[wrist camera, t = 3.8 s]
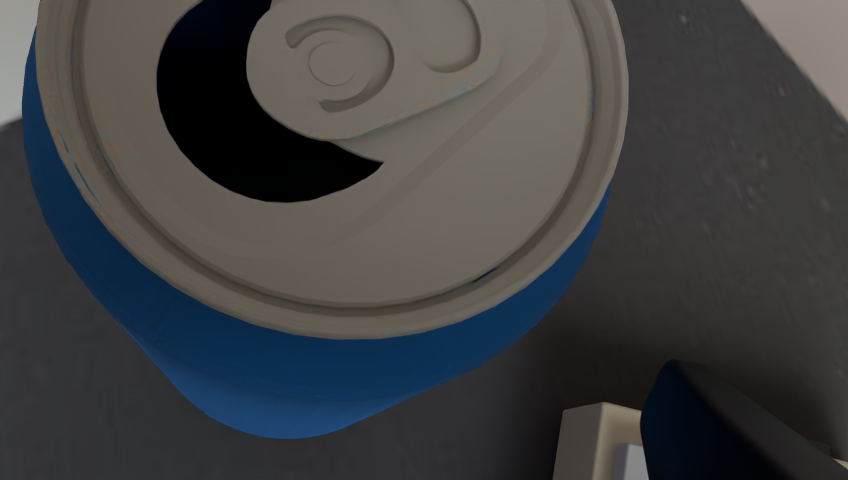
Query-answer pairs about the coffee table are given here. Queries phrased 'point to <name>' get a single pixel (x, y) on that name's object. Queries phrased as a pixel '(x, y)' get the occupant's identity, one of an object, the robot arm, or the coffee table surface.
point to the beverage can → (323, 185)
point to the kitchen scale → (607, 444)
